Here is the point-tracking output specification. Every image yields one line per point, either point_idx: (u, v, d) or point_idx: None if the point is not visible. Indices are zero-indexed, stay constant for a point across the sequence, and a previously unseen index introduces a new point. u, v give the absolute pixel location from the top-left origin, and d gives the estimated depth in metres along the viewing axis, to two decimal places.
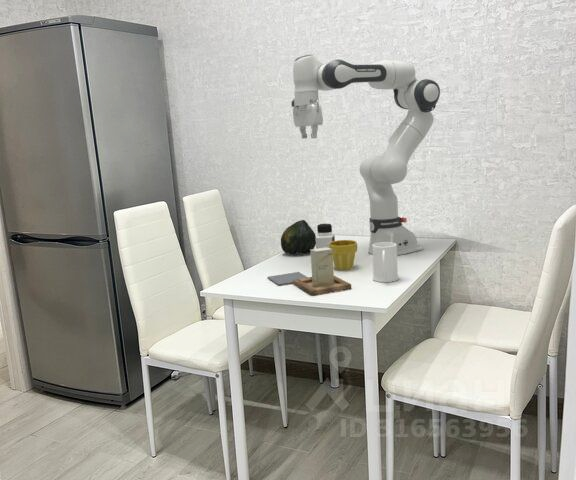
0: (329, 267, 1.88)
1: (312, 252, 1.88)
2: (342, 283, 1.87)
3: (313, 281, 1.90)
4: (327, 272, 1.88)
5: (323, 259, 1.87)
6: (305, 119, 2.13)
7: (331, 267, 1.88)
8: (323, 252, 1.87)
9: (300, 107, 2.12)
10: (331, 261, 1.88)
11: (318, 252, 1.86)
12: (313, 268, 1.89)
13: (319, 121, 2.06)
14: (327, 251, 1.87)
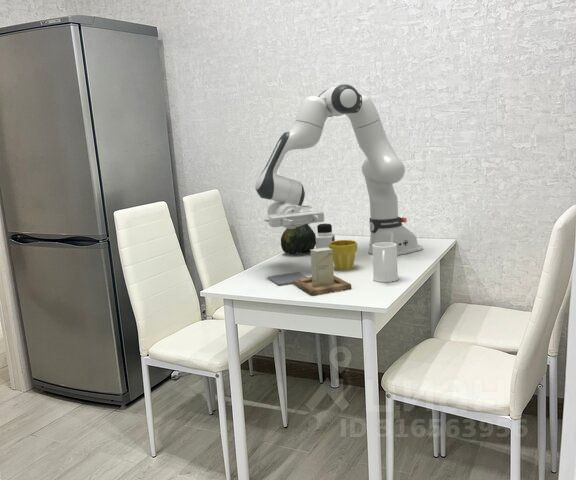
0: (330, 267, 1.88)
1: (312, 252, 1.88)
2: (342, 283, 1.87)
3: (313, 281, 1.90)
4: (327, 272, 1.88)
5: (323, 259, 1.87)
6: None
7: (331, 267, 1.88)
8: (323, 252, 1.86)
9: (290, 225, 2.09)
10: (331, 261, 1.88)
11: (318, 252, 1.86)
12: (313, 268, 1.89)
13: (270, 221, 2.00)
14: (327, 251, 1.87)
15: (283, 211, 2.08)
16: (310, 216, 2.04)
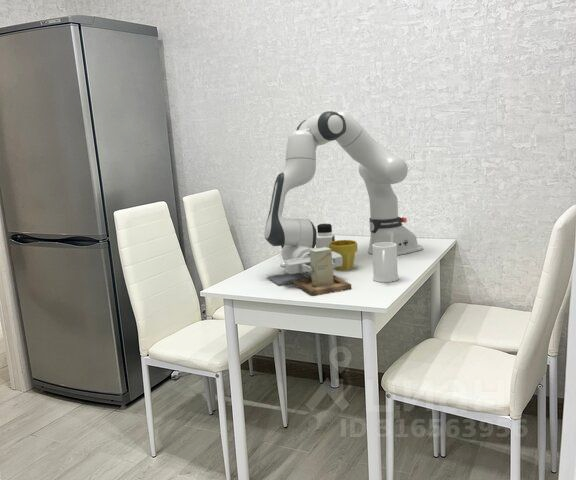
0: (329, 267, 1.88)
1: (311, 252, 1.88)
2: (342, 283, 1.87)
3: (313, 281, 1.90)
4: (326, 272, 1.88)
5: (322, 259, 1.87)
6: None
7: (330, 267, 1.88)
8: (322, 252, 1.86)
9: None
10: (330, 261, 1.88)
11: (317, 252, 1.86)
12: None
13: (287, 267, 1.91)
14: (326, 251, 1.87)
15: (299, 255, 1.99)
16: None
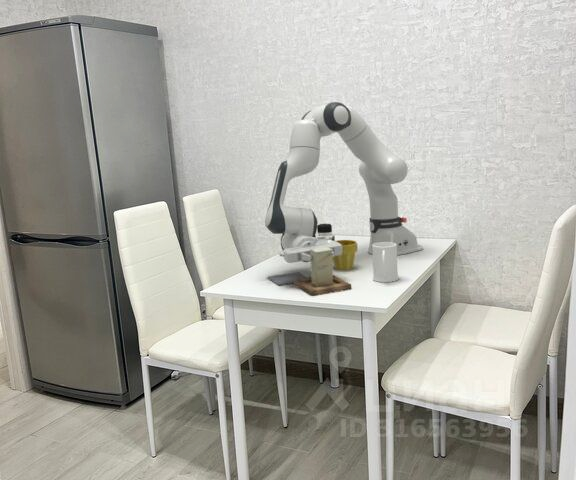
0: (329, 267, 1.88)
1: (312, 252, 1.87)
2: (342, 283, 1.87)
3: (312, 280, 1.90)
4: (326, 272, 1.88)
5: (322, 260, 1.86)
6: None
7: (330, 267, 1.88)
8: (323, 253, 1.86)
9: None
10: (331, 261, 1.88)
11: (317, 253, 1.85)
12: (312, 267, 1.89)
13: (286, 256, 1.90)
14: (327, 252, 1.86)
15: (299, 244, 1.98)
16: None
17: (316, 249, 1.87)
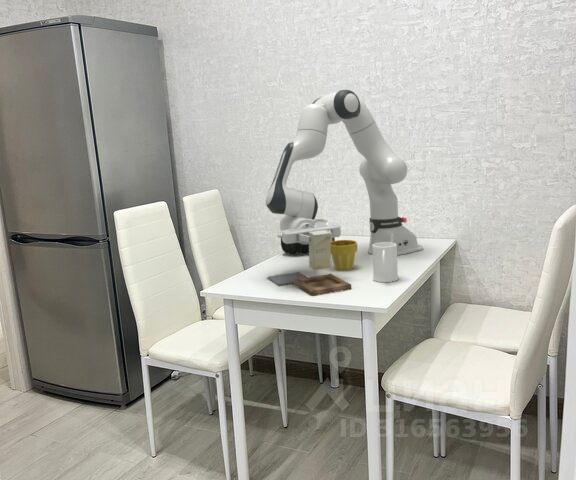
0: (327, 251, 1.87)
1: (310, 235, 1.86)
2: (342, 283, 1.87)
3: (310, 263, 1.89)
4: (324, 255, 1.87)
5: (320, 243, 1.85)
6: None
7: (328, 251, 1.87)
8: (321, 236, 1.85)
9: (305, 241, 1.98)
10: (329, 245, 1.87)
11: (316, 236, 1.84)
12: (310, 251, 1.88)
13: (284, 237, 1.89)
14: (325, 235, 1.85)
15: (297, 226, 1.97)
16: None
17: (314, 232, 1.86)
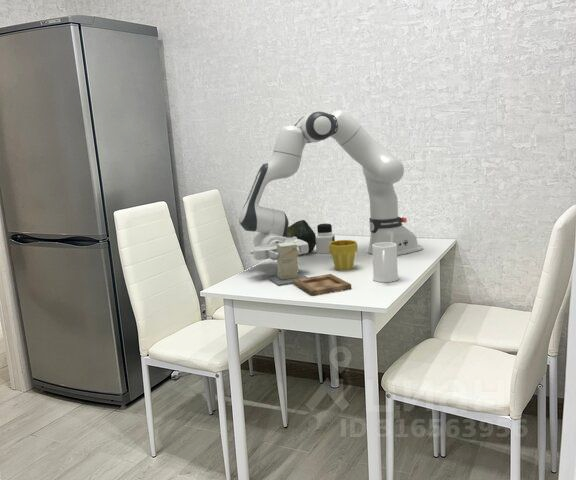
0: (294, 261, 2.00)
1: (278, 246, 2.00)
2: (342, 283, 1.87)
3: (278, 273, 2.02)
4: (291, 265, 2.00)
5: (287, 254, 1.99)
6: None
7: (295, 261, 2.00)
8: (288, 247, 1.98)
9: None
10: (295, 256, 2.00)
11: (283, 247, 1.98)
12: (278, 261, 2.01)
13: (255, 254, 2.02)
14: (292, 246, 1.99)
15: (268, 243, 2.10)
16: None
17: (282, 244, 2.00)
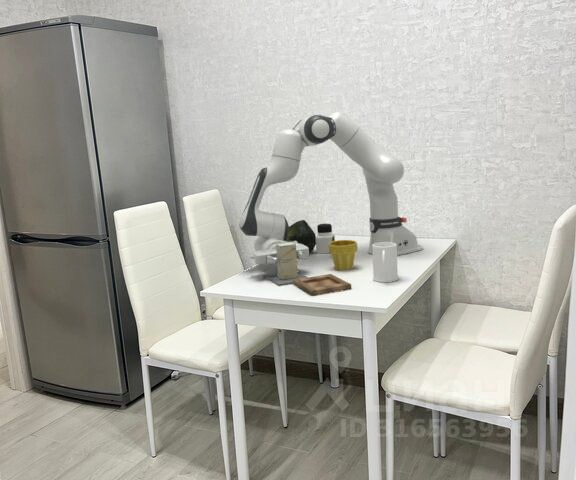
0: (293, 261, 2.01)
1: (277, 247, 2.00)
2: (342, 283, 1.87)
3: (278, 274, 2.03)
4: (291, 265, 2.00)
5: (287, 253, 1.99)
6: None
7: (295, 261, 2.01)
8: (287, 247, 1.99)
9: None
10: (295, 255, 2.00)
11: (282, 247, 1.98)
12: (278, 262, 2.01)
13: (255, 258, 2.03)
14: (291, 246, 1.99)
15: (268, 247, 2.10)
16: None
17: (281, 244, 2.01)
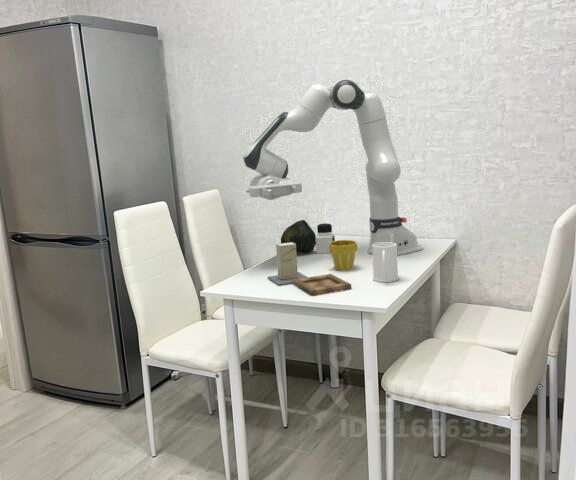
0: (293, 261, 2.01)
1: (277, 247, 2.00)
2: (342, 283, 1.87)
3: (278, 274, 2.03)
4: (291, 265, 2.00)
5: (287, 253, 1.99)
6: None
7: (295, 261, 2.01)
8: (287, 247, 1.99)
9: (270, 196, 2.21)
10: (295, 255, 2.00)
11: (282, 247, 1.98)
12: (278, 262, 2.01)
13: (250, 191, 2.12)
14: (291, 246, 1.99)
15: (263, 183, 2.19)
16: (288, 187, 2.16)
17: (281, 244, 2.01)
